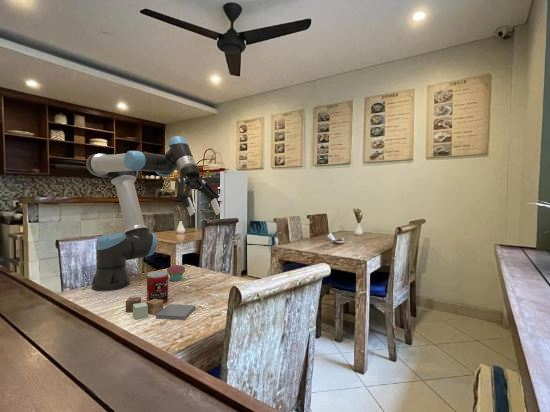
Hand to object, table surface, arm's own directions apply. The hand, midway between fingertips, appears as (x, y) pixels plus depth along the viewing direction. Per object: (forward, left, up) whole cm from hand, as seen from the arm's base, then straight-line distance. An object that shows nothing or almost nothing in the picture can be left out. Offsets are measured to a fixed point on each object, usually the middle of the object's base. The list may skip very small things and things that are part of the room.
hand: (206, 213), depth 117 cm
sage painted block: (-17, -19, -34) cm, 43 cm away
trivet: (-6, -15, -34) cm, 38 cm away
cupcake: (-24, +25, -34) cm, 49 cm away
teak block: (-14, -15, -34) cm, 40 cm away
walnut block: (-22, -14, -34) cm, 43 cm away
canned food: (-18, -5, -35) cm, 39 cm away
